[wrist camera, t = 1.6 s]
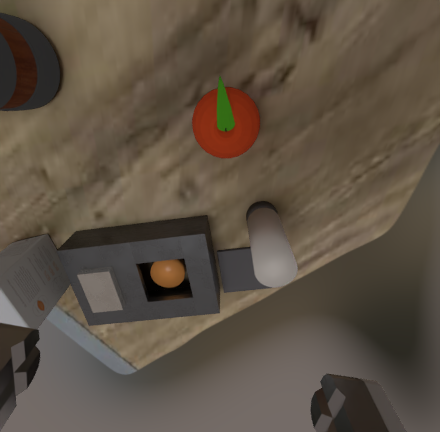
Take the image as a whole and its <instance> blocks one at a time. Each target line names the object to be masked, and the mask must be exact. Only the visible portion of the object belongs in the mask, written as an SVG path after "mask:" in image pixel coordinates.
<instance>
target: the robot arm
mask: <svg viewBox="0 0 440 432" xmlns="http://www.w3.org/2000/svg"><path fill="white" fill-rule="evenodd" d="M39 339H40V338H39V330H37V329H33V328H27V327H22V326H16V325H11V324H5V323H0V431H1V429H2V428H3V426H4V424H5V423H6V421H7V420H8V418H9V417H10V415H11V413H12V412H13V410H14V409H15V407H16V396H17V395H18V394H20V393H21V392H23V391H24V390H26V389H27V388H28V387H29V385H30V383H31V382H32V380H33V378H34V376H35V374H36V371H37V369H38V366H39V362H40V350H39V349H38V348H37V347H36V346H35V345H36V344H37V342H38V341H39ZM320 382H321V385H322V388H321V389H319V390H317V391H316V392H315V393H314V395H313V397H312V400H311V418H312V422H313V426H314V429H315V430H316V431H317V432H406V430H405V428H404V426H403V424H402V423H401V421H400V419H399V417H398V415H397V413H396V412H395V410H394V408H393V406H392V404H391V402H390V401H389V399H388V397H387V395H386V393H385V391H384V390H383V388H382V386H381V385H380V384H379V383H378V382H377V381H373V380H366V379H359V378H354V377H347V376H341V375H334V374H326V375H324V376H323V378H322V380H321V381H320Z"/></svg>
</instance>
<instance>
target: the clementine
mask: <svg viewBox="0 0 440 432" xmlns="http://www.w3.org/2000/svg"><path fill="white" fill-rule="evenodd" d="M192 124H193V132H194V135H195V138H196V140H197V142H198V143H199V145H200V146H201V147H202V148H203V149H204V150H205V151H206V152H207V153H209V154H211V155H213V156H215V157H219V158H233V157H236V156H239V155H241V154H243V153H244V152H246V151H247V150H248V149H249V148H250V147H251V146H252V145H253V143H254V142H255V140H256V138H257V135H258V132H259V128H260V117H259V112H258V109H257V107H256V105H255V103H254V101H253V100H252V99H251V98H250V97H249V96H248V95H247V94H246V93H244V92H242V91H241V90H239V89H235V88H231V87H224V84H223V81H222V79H221V77H219V83H218V89H214V90H212V91H210V92H209V93H207V94H206V95H204V96H203V97H202V99H201V100H200V101H199V102H198V104H197V106H196V108H195V110H194V114H193V119H192Z"/></svg>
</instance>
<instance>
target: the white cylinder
mask: <svg viewBox="0 0 440 432" xmlns="http://www.w3.org/2000/svg"><path fill="white" fill-rule="evenodd" d="M246 218H247V225H248V232H249V239H250V246H251V252H252V259H253V266H254V273H255V276H256V278H257V280H258V281H259V282H260V283H261V284H263V285H265V286H268V287H282V286H285V285H287V284H288V283H290V282H291V281H292V280H293V279H294V278H295V276H296V274H297V271H298V267H297V263H296V260H295V258H294V255H293V252H292V250H291V247H290V244H289V242H288V239H287V237H286V234H285V231H284V229H283V226H282V223H281V221H280V218H279V216H278V213H277V210H276V208H275V207H274V206H273V205H272V204H271V203H269V202H265V201H260V202H256V203H254V204H253V205H251V206H250V207H249V209H248V211H247V214H246Z"/></svg>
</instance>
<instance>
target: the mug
mask: <svg viewBox="0 0 440 432" xmlns="http://www.w3.org/2000/svg"><path fill="white" fill-rule="evenodd" d="M59 82H60V69H59V63H58V60H57V57H56V54H55V52H54V50H53V48H52V46H51V44H50V43H49V41H48V40H47V39H46V37H45V36H44V35H43V34H42V33H41V32H40V31H39V30H38V29H37V28H36V27H34V26H33V25H32V24H30V23H28V22H27V21H25V20H23V19H20V18H18V17H15V16H11V15H7V14H4V13H0V110H2V111H18V110H29V109H35V108H39V107H42V106H44V105H45V104H47V103H48V102H50V101H51V99H52V98H53V97H54V96H55V94H56V92H57V90H58V86H59Z"/></svg>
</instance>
